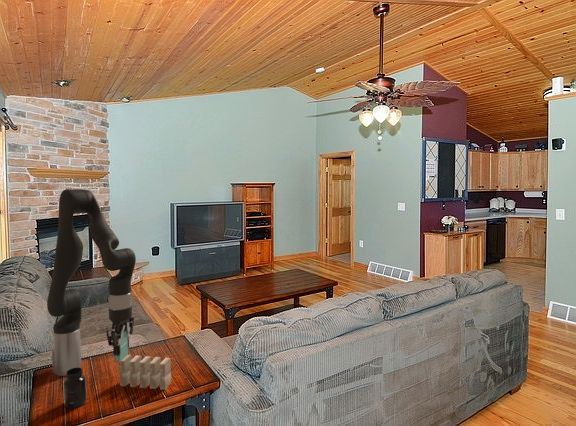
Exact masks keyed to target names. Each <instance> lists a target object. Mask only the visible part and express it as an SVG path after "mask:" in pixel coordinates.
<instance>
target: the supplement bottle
mask: <svg viewBox="0 0 576 426" xmlns="http://www.w3.org/2000/svg"><path fill="white" fill-rule="evenodd" d="M83 373H84V372H83V368H82V367H81V368H72V369H70V370H68V371H67V372H66V378H65V379H64V381H63V383H62V384H63V399H64V401H63V402H64V406H65V408H67V409H71V410H72V409H76V408H80V407H82V406H83V405H85V403H87V401H88V400H87V399H88V397H87V395H88V393H87V392H88V391H87V378H86V376H85V375H84V374H83Z"/></svg>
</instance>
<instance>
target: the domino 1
mask: <svg viewBox="0 0 576 426" xmlns="http://www.w3.org/2000/svg"><path fill="white" fill-rule="evenodd" d="M116 336H120V334H116ZM116 340H117V341H118V339H117V338H116ZM120 353H121V354H120V355H119V356H116V355H114V361H115V362H120V361H121V360H123V359H124V358H125V357H126V356H127V355H129V348H128V335H127V330H126V331H124V332H123V337H122V338H121V341H120Z"/></svg>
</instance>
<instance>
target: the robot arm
mask: <svg viewBox="0 0 576 426" xmlns="http://www.w3.org/2000/svg"><path fill="white" fill-rule="evenodd" d="M75 214H78V215H79V214H87V215H88V216H89V218H90V227H89V235H90V238H91V240H92V241H93V243H94V244H95V246H96V247H97V248H98V250H99V254H100V258H101V261H102V262H101V263H102V265H103V267H104V268H105V269H106V270H107V271H110V272H115V271H119V272H118V273H117V274H116V275H114V276H111V277H110V278H109V280H108V319H109V320H110V321H111V322H112V323H111V328H110V330H109V329H108V330H106V333H105V334H106V338H107V344H108V347H109V346H110V347H112V348H113V349H112V351H113V352H112V353H113V356H115V355H116V356H119V355H120V354H121V353H120V341H121V338H122V337H123V332H124V331H126V330H127V335H128V349H129V348H130V338H131V335H133V333H134V324H135V323H134V322H135V317H133V298H132V283H131V281H132V277H133V273H134V269H135V267H136V261H137V257H136V254H135V251H134V250H133V249H131V248H128V247H127V248H126V247H125V248H120V249H119V248H118V247H119V246H120V245H119V244H120V241H119V238H118V237H117V235H116V234H115V232H114V231H113V230H112V228H111V227H110V225H109V223H108V222H107V220H106V218H105V216H104V213H103V211H102V209H101V207H100V205H99V202H98V200H97V198H96V196H95V195H94V193H93V192H92V191H91V190H88V189H83V188H82V189H81V188H79V189H78V188H76V189H74V188H69V189H68V188H67V189H64V190H62V191H61V193H60V195H59V199H58V227H57V239H56V245H55V252H54V261H53V262H54V263H53V264H54V265H53V271H52V277H51V281H50V282H51V283H50V288H49V291H48V294H47V295H48V296H47V300H46V308H47V312H48V313H49V315H50V316H51V317H55V318H56V317H61V318H59V320H58V321H56V322H55V323H54V324H53V327H52V328H53V331H52V332H53V349H52V350H51V361H52V363H51V364H52V372H53V374H54V375H57V376H59V377H62V376H63V377H65V376H66V372H67V371H68V370H70V369H72V368H81V369H82V352H81V351H82V350H81V348H82V347H81V345H82V344H81V322H82V311H83V310H82V304H83V303H82V296H81V294H80V291H78V290H77V289H75V288H69V289H67V287H68V284H69V282H70V280H71V279H72V277H73V276H74V275H75V273H77V270H78V269H79V268H80V266H81V263H82V259H83V253H84V244H83V242H82V240H81V238H80V237H79V234H78V233H77V232H76V230H75V227H74V215H75ZM116 334H120V336H116ZM116 338H117V339H118V341H117V340H116Z"/></svg>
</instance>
